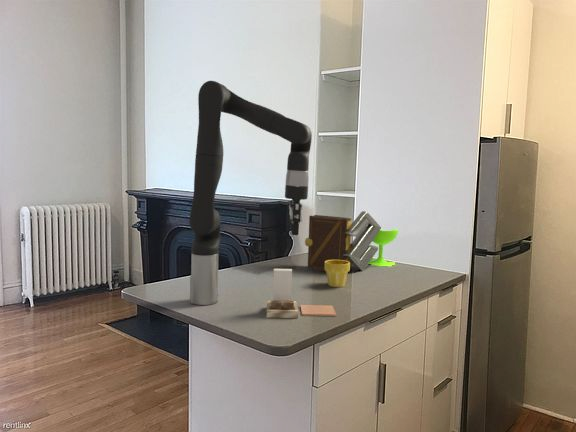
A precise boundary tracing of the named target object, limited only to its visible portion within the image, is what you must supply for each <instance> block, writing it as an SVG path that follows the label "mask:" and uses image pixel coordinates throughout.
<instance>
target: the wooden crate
mask: <svg viewBox="0 0 576 432" xmlns="http://www.w3.org/2000/svg"><path fill="white" fill-rule="evenodd" d="M308 217H309V218H308V221H309V222H308V237H306V238H305V239H304V245H305V246H306V247H308V248H307V250H308V251H307V269H310V270H314V271H322V272H326V270H325V261H327V260H345V261H348V260H347V259H346V258H345V257H344V256H343V253H344V252H345V251H346V250H347V249H348V247H349V246H350V244H351V236H349V235H347V234H346V233H345V231H346V230H347V229H348V227H349V226H350V225H351V224H352V218H351V217H345V216H344V217H342V216H334V215H333V216H332V215H331V216H330V215H320V214H314V215H309V216H308ZM348 262H349V261H348ZM348 272H349V273H350V271H348Z"/></svg>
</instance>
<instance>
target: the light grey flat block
mask: <svg viewBox="0 0 576 432" xmlns="http://www.w3.org/2000/svg"><path fill="white" fill-rule="evenodd" d="M292 285H293V269H292V268H273V285H272V287H273V289H272V292H273V293H272V294H273V295H272V298H273V299H272V301H281V302H282V304H281V305H283V302H284V301H292V295H293V292H292V291H293V290H292V289H293V288H292V287H293V286H292Z"/></svg>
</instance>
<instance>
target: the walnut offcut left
mask: <svg viewBox="0 0 576 432" xmlns="http://www.w3.org/2000/svg"><path fill="white" fill-rule="evenodd" d="M270 301H271V310H281V304H282V302H281V301H273V300H270Z"/></svg>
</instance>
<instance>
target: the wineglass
mask: <svg viewBox="0 0 576 432" xmlns="http://www.w3.org/2000/svg"><path fill="white" fill-rule="evenodd" d="M398 232H399V228H396V230H392V231H382V230H380V231H379V232H378V234H377V235H376V237H375V238H374V239H373V241H372V242H371V243H374V244H376V245H378V257H377V258H372V259H371V261H370V262H369V264H371V265H370V266H372V265H377V266H376V267H381V266H388V267H393V266H392V265H395V263H396V262H395V261H393V262H387V261H385V260H386V259H385V258H384V257H383V256H384V255H383V254H384V253H383V252H384V245H387V244H390V243H392V242H393V241H395V239H396V238H397V236H398ZM375 259H376V260H375ZM395 266H396V265H395Z"/></svg>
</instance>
